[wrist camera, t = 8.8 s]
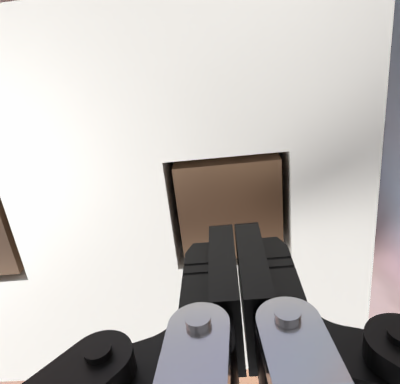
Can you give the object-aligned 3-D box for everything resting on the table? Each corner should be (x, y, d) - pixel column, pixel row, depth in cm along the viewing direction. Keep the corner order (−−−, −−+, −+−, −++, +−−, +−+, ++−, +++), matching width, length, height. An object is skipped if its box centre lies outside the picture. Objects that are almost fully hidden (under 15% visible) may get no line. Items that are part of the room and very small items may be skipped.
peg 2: (185, 127, 20) (171, 169, 14) (259, 120, 20) (281, 159, 13) (193, 194, 22) (184, 262, 15) (262, 189, 21) (283, 255, 15)
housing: (-99, 38, 20) (-285, 38, 12) (323, -13, 18) (399, -48, 11) (-4, 286, 26) (-91, 386, 18) (318, 263, 24) (364, 363, 17)
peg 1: (-9, 146, 21) (-109, 194, 14) (59, 139, 21) (-11, 185, 14) (11, 210, 22) (-70, 280, 16) (76, 204, 22) (19, 274, 16)
